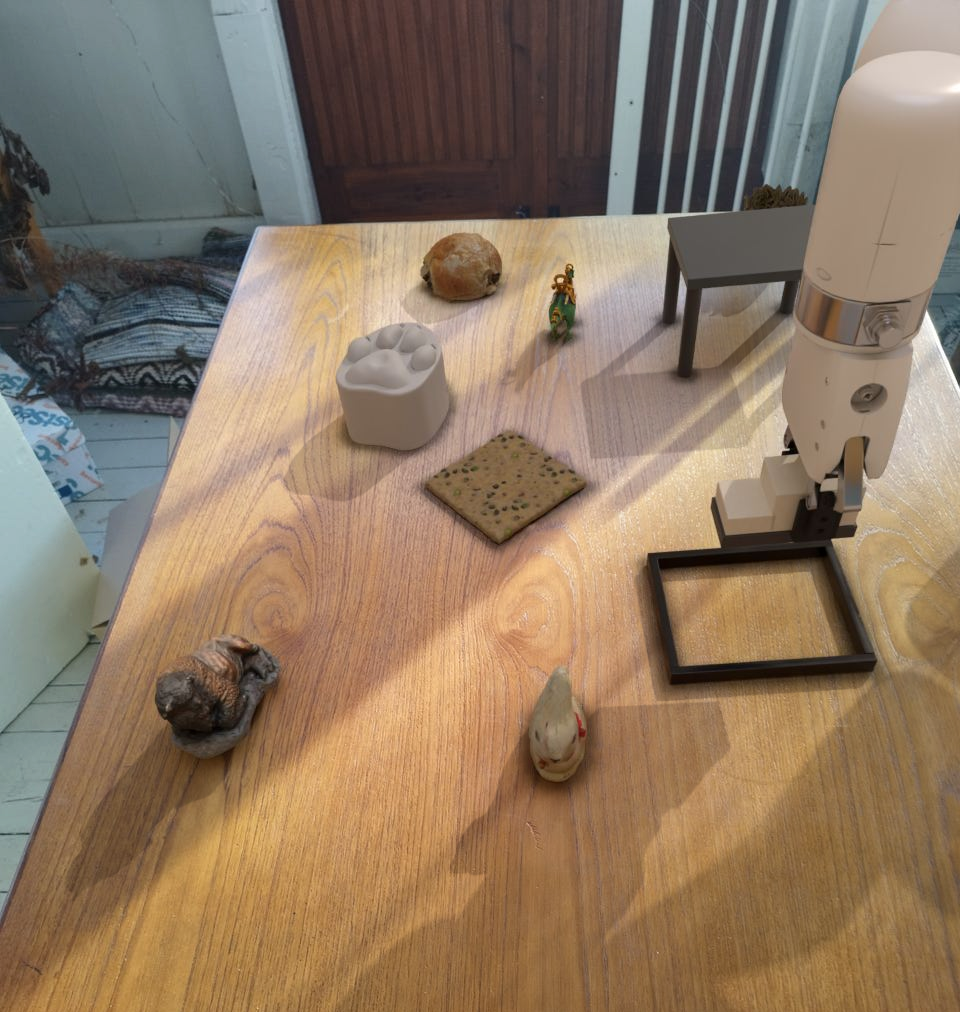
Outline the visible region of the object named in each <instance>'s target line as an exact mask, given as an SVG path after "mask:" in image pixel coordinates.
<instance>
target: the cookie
mask: <svg viewBox="0 0 960 1012" xmlns="http://www.w3.org/2000/svg"><path fill="white" fill-rule="evenodd" d="M586 486H587V481H586V480H585V479H584V478H583V477H582V476H579V474H577V473H576V472H575V471H574V470H572V469H571V468H568V467H567V466H566V465H564V464H562V463H561V462H558V460H556V459H555V458H553V457H552V456H551V455H549V454H547V453H546V452H544V451H543V450H541V449H539V448H538V447H536V446H535V445H534V444H532V443H531V442H530V441H528V440H527V439H525V437H524V436H523V435H520V434H518V433H517V432H516V431H513V430H511V429H510V430H507V431H506V432H504V433H499V434H497V435H496V436H495V437H494V438H490V440H489V441H488V442H486V443H484V444H483V445H481V446H480V447H478V448H477V449H475V450H474V451H473V452H470V453H469V454H468V455H467V456H465V457H464V458H462V459H459V460H457V461H456V462H455V463H452V464H450V465H448V466H447V467H443V468H442V469H440V471H439V472H438V473H436V474H433V476H432V477H431V478H430V479H428V480H426V481H425V483H424V487H425V488H426V489H428V490H429V492H432V493H433V494H434V495H435V496H436V497H438V498H439V499H440V500H441V501H442V502H444V503H445V504H447V505H448V506H449V507H450V508H452V509H453V511H455V512H457V514H459V515H460V516H461V517H462V518H463V519H465V520H467V521H468V522H469V523H470V524H471V525H473V526H475V527H476V528H477V529H478V530H480V531H481V532H482V533H483V534H484V535H486V536H487V537H488V538H490V539H491V540H492V541H493V542H495V543H496V544H498V545H499V544H501V543H502V542H504V541H505V540H507V539H509V538H510V537H512V536H513V534H515V533H516V532H518V531H520V530H521V529H523V528H524V527H526V526H527V525H528V524H530V523H531V522H534V521H535V520H536V519H538V518H540V517H542V516H543V515H544V514H546V513H548V511H550V510H552V509H553V508H555V507H556V506H557V505H558V504H559V503H560V502H562V501H564V500H565V499H567V498H569V497H570V496H571V495H573V494H575V493H577V492H578V491H580V490H582V489H583V488H585V487H586Z"/></svg>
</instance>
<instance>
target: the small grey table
mask: <svg viewBox="0 0 960 1012" xmlns="http://www.w3.org/2000/svg"><path fill="white" fill-rule="evenodd" d="M815 205H816V204H807V205H803V206H792V207H782V208H771V209H760V210H749V211H744V210H739V211H728V212H718V213H717V212H716V213H705V214H696V215H695V214H694V215H685V216H673V217H668V218H667V225H666V227H667V228H666V230H667V231H668V235H669V240H668V242H669V243H668V252H667V261H666V271H665V272H666V274H665V284H664V296H663V304H662V305H663V307H662V317H661V321H662V322H663V323H664V324H673V323H675V322H676V321H677V312H678V311H677V310H678V300H679V291H680V282H681V277H682V279H683V281H684V286H685V288H686V291H685V299H684V308H683V317H682V324H681V325H682V326H681V334H680V335H681V336H680V344H679V352H678V361H677V362H678V363H677V371H676V375H677V377H679V378H682V379H687V378H689V377H691V376H692V374H693V373H692V372H693V365H694V358H695V350H696V344H697V343H696V342H697V335H698V334H697V333H698V325H699V318H700V310H701V305H702V304H701V303H702V295H703V289H715V288H726V287H737V286H749V285H761V284H772V283H781V282H784V285H783V290H782V294H781V298H780V299H781V300H780V304H779V309H778V310H779V311H780V312H781V313H783V314H791V313H793V311H794V307H795V302H796V297H797V293H798V288H799V283H800V278H801V273H802V268H803V264H804V260H805V255H806V250H807V245H808V240H809V235H810V230H811V225H812V220H813V215H814V210H815Z"/></svg>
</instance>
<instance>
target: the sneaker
mask: <svg viewBox="0 0 960 1012" xmlns="http://www.w3.org/2000/svg"><path fill="white" fill-rule="evenodd" d="M808 479H809V475H808V473H807V471H806V469H805V467H804V464H803V462H802V459H801V457H800V454H795V455H783V456H781V455H773V456H764V457H763V461H762V465H761V470H760V474H759V477H750V478H748V477H747V478H738V479H737V478H736V479H728V480H718V481H717V485H716V491H715V495H714V496H712V497H711V502H710V506H709V507H710V512H711V516H712V520H713V523H714V527H715V530H716V534H717V537H718V542H719V546H720V548H731V547H743V546H755V545H767V544H779V543H792V542H793V541H792V539H791V531H792V527H793V524H794V520H795V516H796V512H797V508H798V504H799V501H800V500H801V499H804V498H806V492H807V485H808ZM837 488H838V478H832V479H826V480H823V482H822V483H821V489H820V492H825V491H836V490H837ZM867 489H868V486H867V484H866V482H865V479H864V478H863V497H862V502H864V498H865V495H866V493H867ZM859 512H860V511H859ZM859 512H847V513H843V515H842V518H841V521H840V524H839V527H838V530H837V534H836V536H835V538H833V539H832V540H837V539H838V540H839V539H849V538H850V539H851V538H854V537H855V535H856V532H857V529H858V524H857V522H856V521H857V517H858V516H859Z"/></svg>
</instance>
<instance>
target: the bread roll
mask: <svg viewBox="0 0 960 1012" xmlns="http://www.w3.org/2000/svg"><path fill="white" fill-rule="evenodd" d="M422 264H423V265H422V266H421V267H420V270H419V272H420V273H419V275H420V277H421V278H422V280H423V281H424V282H426V287H427V288H428V289H429V291H430V292H431V293H433V294H434V295H435V296H437V297H439V298H442V299H444V300H446V301H449V302H451V301H455V300H456V301H471V300H477V299H480V298H482V297H484V296H488V295H489V296H491V295H492V294H493V293H494V292H496V290H497V289H498V287H497V285H498V284H499V282H500V279H501V277H502V272H503V261H502V257H501V254H500V253H499V251H498V249H497V248H496V247H495V246H494V244H493V243H492V242H491V241H489V240H488V239H486V238H484V237H483V236H482V235H481V234H480V233H478V232H466V231H465V232H455V233H452V234H449V235H446V236H444V237H442V238H441V239H439V240H438V241H437V242H435V243H434V244H433V246H431V248H430V250H428V251H427V253H426V254H425V256H424V257H423V261H422Z"/></svg>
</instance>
